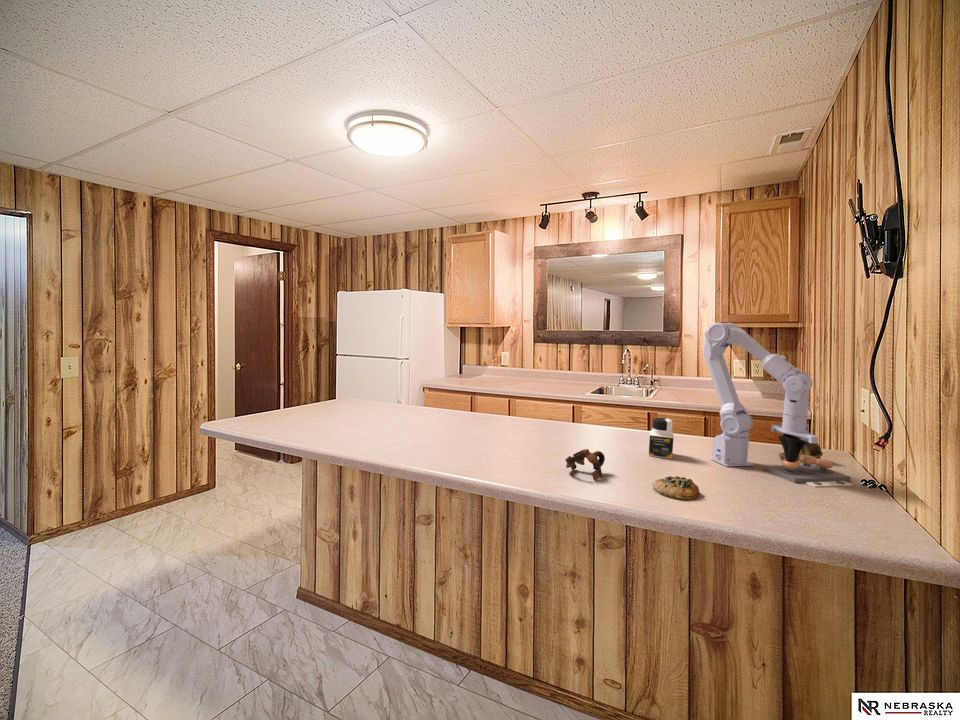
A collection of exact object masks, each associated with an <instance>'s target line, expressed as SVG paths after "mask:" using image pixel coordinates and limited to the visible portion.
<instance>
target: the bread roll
mask: <svg viewBox="0 0 960 720" xmlns="http://www.w3.org/2000/svg"><path fill="white" fill-rule="evenodd" d="M652 487H653V488H652V489H653V491H654V492H656V493H657V494H659V495H662V496H664V497H667V498H672V499H674V498H675V499H677V500H682V501H686V500H687V501H690V500H694V499H696V498H698V497H699V496H700V490H699V486H698V485H697V484H696V483H695V482H694V481H693V480H692V478H688V479H687V478H686V477H685V476H682V477H680V476H678V475H675V476H674V477H673V476H672V475H669V476H666V477H664V478H663V477H662V478H657V479H656V480H655V481H653V483H652Z"/></svg>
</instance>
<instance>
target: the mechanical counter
mask: <svg viewBox="0 0 960 720" xmlns="http://www.w3.org/2000/svg"><path fill="white" fill-rule="evenodd" d="M823 453H824V452H823V451H822V448H821V446H820V444H819V442H818V443H809V442H807V443H806V444H805V445H804V447H803V448H802V449H801V451H800V453H799V455H798V457H797V460H796V461H797V462H800V461H799V457H800V455H809V456H813V457H816V459H822V457H823ZM778 457H779V458H780V460H781V461H783V460H784V459H786V458H785V453H784V452H780V453H778Z"/></svg>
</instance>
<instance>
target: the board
mask: <svg viewBox="0 0 960 720" xmlns="http://www.w3.org/2000/svg"><path fill="white" fill-rule="evenodd" d="M819 468H820V467H819V466H816V465H815V464H811V466H810V467H808V466H804V465H803V464H799V469H794V471H788V470H786V468H785V467H783V466H782V465H764V471H766V472H768V473H770V474H773V475H775V476H778V477H780V478H782V479H784V480H786V481H789V482H792V483H793V484H797V483H799V484H800V483H802V484H803V483H805V482H823V481H845V482H851V480H852V479H851V478H852V477H851V476H850V475H846V474H844V473H841V472H839V471H836V470H833V469H832V468H827V470H821V469H819ZM805 484H806V483H805Z"/></svg>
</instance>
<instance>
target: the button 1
mask: <svg viewBox="0 0 960 720" xmlns="http://www.w3.org/2000/svg"><path fill="white" fill-rule="evenodd" d="M781 461H782V460H781ZM799 465H800V461H796V462H788V461H786V459H784V460H783V461H782V463H781V466H783V467H785V468H786V470H788V471H794V469H799Z"/></svg>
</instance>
